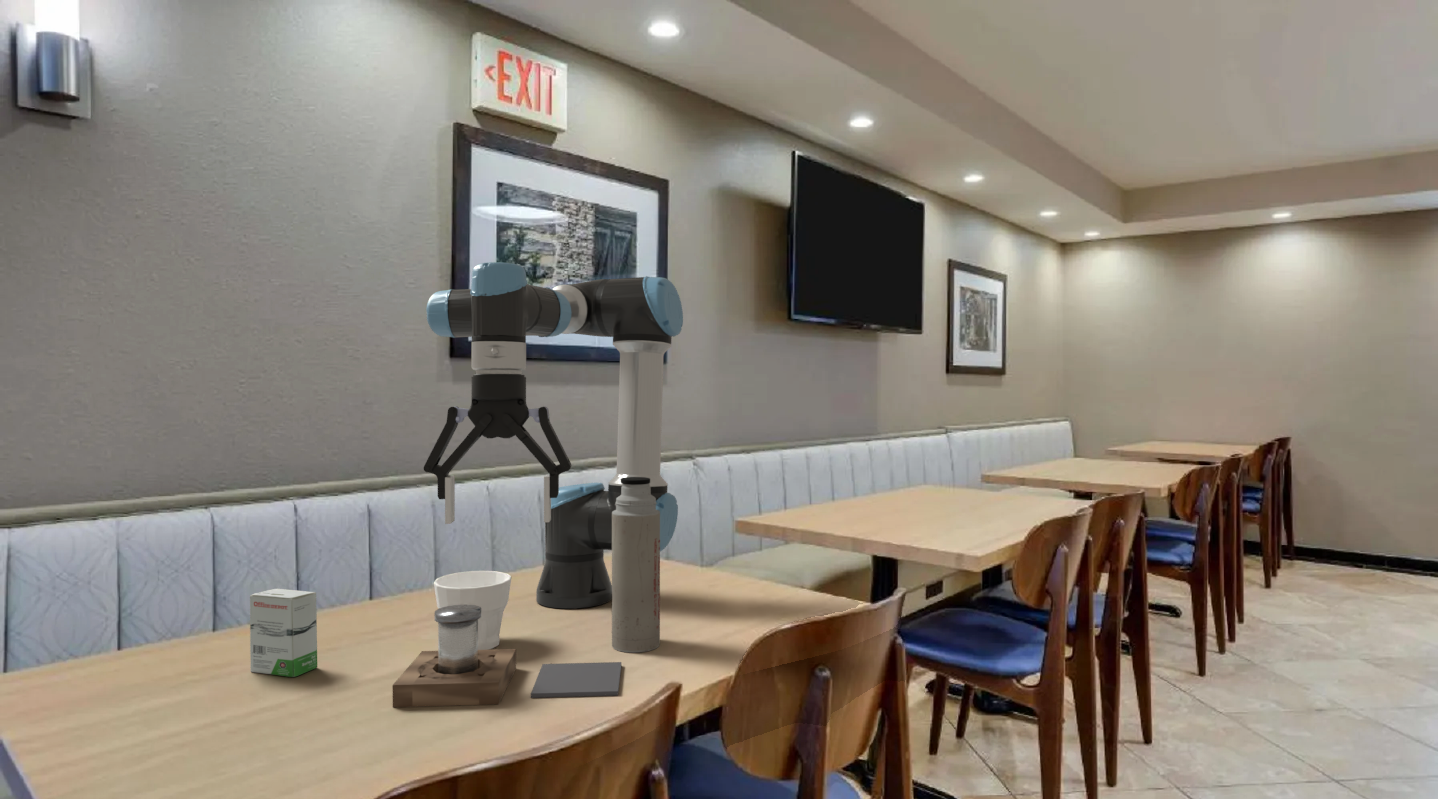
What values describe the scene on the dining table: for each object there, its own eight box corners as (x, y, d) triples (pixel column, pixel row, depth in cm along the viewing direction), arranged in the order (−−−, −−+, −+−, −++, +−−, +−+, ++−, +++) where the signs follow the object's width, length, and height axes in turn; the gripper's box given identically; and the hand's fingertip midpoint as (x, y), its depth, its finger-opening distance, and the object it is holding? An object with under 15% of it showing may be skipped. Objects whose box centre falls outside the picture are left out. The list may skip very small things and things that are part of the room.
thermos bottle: (665, 639, 139) (665, 475, 139) (652, 654, 132) (652, 480, 131) (620, 636, 141) (620, 474, 140) (605, 651, 133) (605, 479, 133)
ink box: (319, 668, 125) (318, 590, 125) (293, 678, 120) (292, 598, 120) (275, 661, 128) (275, 585, 128) (248, 672, 123) (247, 593, 123)
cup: (527, 639, 139) (527, 574, 139) (476, 661, 128) (476, 591, 128) (470, 630, 144) (470, 567, 144) (417, 650, 133) (416, 583, 133)
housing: (422, 670, 124) (422, 651, 124) (516, 668, 125) (516, 648, 125) (392, 707, 110) (392, 685, 110) (498, 704, 111) (498, 682, 111)
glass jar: (441, 679, 120) (441, 604, 120) (485, 678, 121) (485, 604, 121) (429, 695, 114) (429, 617, 114) (476, 694, 114) (476, 616, 114)
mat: (542, 667, 125) (542, 663, 125) (621, 665, 126) (621, 662, 126) (530, 697, 113) (530, 693, 113) (617, 695, 114) (617, 691, 114)
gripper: (400, 371, 111) (401, 527, 111) (586, 372, 114) (586, 524, 114) (414, 372, 119) (415, 518, 119) (588, 373, 121) (588, 516, 122)
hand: (499, 521), depth 117 cm, fingers open, 13 cm apart
